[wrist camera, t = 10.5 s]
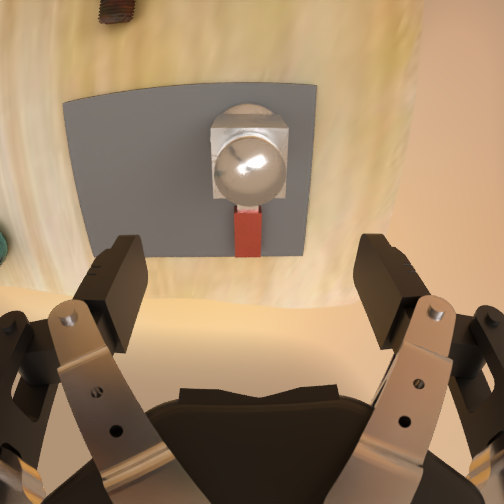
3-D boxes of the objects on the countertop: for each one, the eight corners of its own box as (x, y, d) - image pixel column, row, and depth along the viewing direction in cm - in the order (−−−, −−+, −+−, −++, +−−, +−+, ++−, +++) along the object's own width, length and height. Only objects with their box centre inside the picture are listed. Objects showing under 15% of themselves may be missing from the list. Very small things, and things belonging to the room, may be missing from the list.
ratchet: (217, 248, 34) (214, 279, 30) (211, 103, 26) (204, 111, 22) (277, 248, 34) (282, 278, 30) (284, 103, 26) (293, 111, 22)
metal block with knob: (219, 170, 27) (210, 211, 20) (217, 114, 24) (207, 135, 18) (276, 170, 27) (288, 210, 21) (279, 114, 25) (293, 135, 18)
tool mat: (96, 253, 35) (94, 257, 34) (66, 102, 25) (62, 103, 24) (301, 251, 36) (302, 256, 35) (314, 84, 26) (316, 85, 25)
